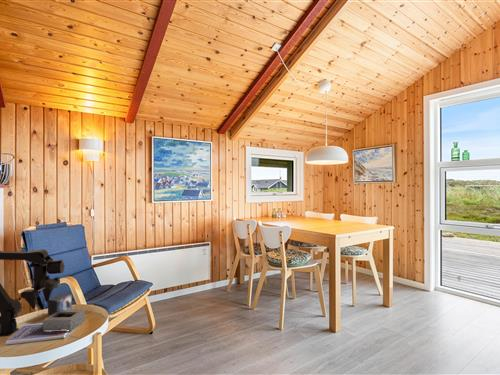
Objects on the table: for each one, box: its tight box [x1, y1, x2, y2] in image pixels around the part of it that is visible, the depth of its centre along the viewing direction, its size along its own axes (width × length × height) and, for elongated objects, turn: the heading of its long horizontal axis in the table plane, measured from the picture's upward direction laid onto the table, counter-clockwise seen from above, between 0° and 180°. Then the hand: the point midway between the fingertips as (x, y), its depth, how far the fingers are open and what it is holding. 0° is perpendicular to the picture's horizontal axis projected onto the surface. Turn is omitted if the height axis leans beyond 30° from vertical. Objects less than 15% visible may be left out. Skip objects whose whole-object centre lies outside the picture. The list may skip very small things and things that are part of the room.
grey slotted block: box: [42, 309, 86, 333], centre depth 148 cm, size 14×12×6 cm
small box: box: [47, 292, 73, 317], centre depth 163 cm, size 11×6×10 cm, turn 168°
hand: (40, 305), depth 147 cm, fingers open, 9 cm apart
